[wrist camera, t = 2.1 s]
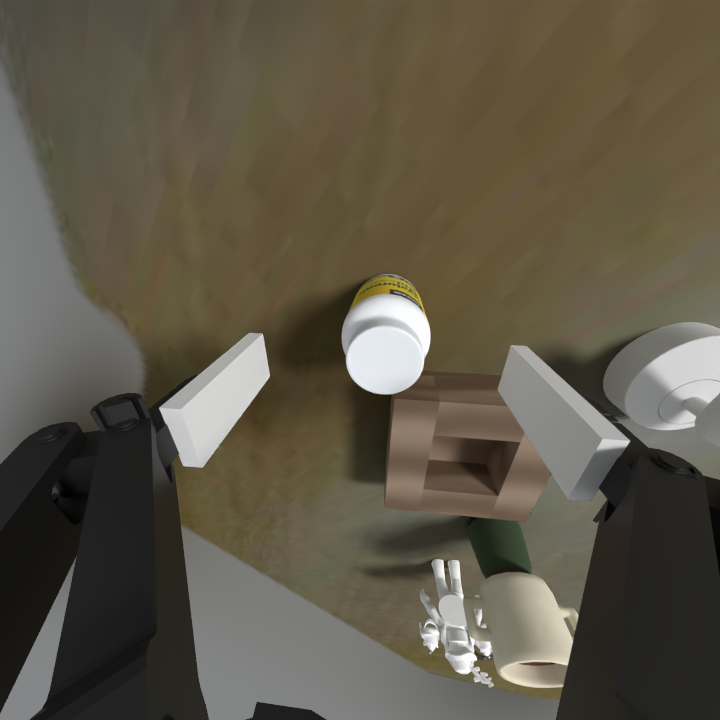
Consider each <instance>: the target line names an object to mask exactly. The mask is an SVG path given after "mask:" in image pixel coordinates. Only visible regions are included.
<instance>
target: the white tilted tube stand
mask: <svg viewBox="0 0 720 720" xmlns="http://www.w3.org/2000/svg"><path fill="white" fill-rule="evenodd" d="M603 389H604V393H605V395H606V397H607V398H608V399H609V400H610V401H611V402H612V403H613V404H614V405H615V406H616V407H618V408H619V409H620V410H621V411H622V412H623V413H625V414H626V415H627V416H628V417H629V418H631V419H632V420H633V421H634V422H636V423H637V424H639V425H641V426H644V427H647V428H651V429H657V430H676V429H683V428H689V427H693V426H695V429H696V431H697V433H698V434H699V435H700V436H701V437H702V438H703V439H704V440H706V441H707V442H709V443H710V444H713V445H715V446H718V447H720V329H719V328H716V327H713V326H710V325H707V324H703V323H696V322H685V323H677V324H671V325H667V326H664V327H661V328H658V329H655V330H653V331H650V332H648V333H646V334H644V335H642V336H640V337H639V338H637V339H635V340H634V341H632V342H631V343H630V344H628V345H627V346H626V347H624V348H623V349H622V350H621V351H620V352H619V353H618V354H617V355H616V356H615V357H614V359H613V360H612V361H611V363H610V364H609V366H608V368H607V370H606V372H605V375H604V379H603Z"/></svg>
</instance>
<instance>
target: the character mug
mask: <svg viewBox="0 0 720 720" xmlns="http://www.w3.org/2000/svg"><path fill="white" fill-rule="evenodd" d="M467 532H468V535H469V538H470V542H471V545H472V548H473V550H474V553H475V556H476V558H477V561H478V563H479V566H480V569H481V571H482V574H483V575H484V576H485V578H486V579H485V580H484V581H483V582H482V584H481V585H480V592H479V595H480V598H479V597H468V596H467V597H464V598H463V607H464V612H465V617H466V623H467V628H468V632H469V634H470V637H471V638H472V639H474V640H476V641H484V642H490V644H491V648H492V653H493V657H494V662H495V666H496V669H497V672H498V675H499V676H501V677H502V678H503V679H504V680H507V681H509V682H512V683H514V684H518V685H523V686H528V687H540V688H552V687H563V685H564V680H565V676H566V671H567V666H568V662H569V657H570V653H571V648H572V644H573V639H574V637H571V635H570V633H569V630H568V628H567V626H566V624H565V621H564V619H563V618H568V619H569V620H570V622H571V625H572V627H573V629H574V632H575V630H576V625H577V621H578V614H577V612H576V611H575V610H574V608H571V607H569V606H562V605H557V603H556V600H555V598H554V596H553V593H552V592H551V591H550V589H549V588H548V586H547V585H546V583H545V582H544V580H543V579H541V578H539V577H537V576H535V575H532V574H531V563H530V559H529V556H528V552H527V548H526V544H525V541H524V537H523V534H522V531H521V528H520V525H519V524H518V523H517V522H516V521H510V520H500V519H490V518H480V517H478V518H477V519H475V520H474V521H472V522H471V523H470V525H469V526H468V528H467ZM474 609H482V611H483V615H484V620H485V624H486V628H481V627H478V626H477V622H476V618H475V613H474Z"/></svg>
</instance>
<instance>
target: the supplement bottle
mask: <svg viewBox="0 0 720 720" xmlns="http://www.w3.org/2000/svg"><path fill="white" fill-rule="evenodd" d="M342 346H343V350H344V353H345V355H346V365H347V369H348V372H349V374H350V376H351V377H352V379H353V380H354V381H355V382H356V383H357V384H358V385H359V386H360V387H362V388H363V389H365V390H367V391H370V392H372V393H376V394H394V393H398V392H401V391H403V390H405V389H407V388H409V387H410V386H411V385H413V384H414V383H415V382H416V381H417V379H418V378H419V376H420V375H421V372H422V370H423V365H424V358H425V357H426V355H427V352H428V350H429V346H430V327H429V323H428V320H427V317H426V314H425V311H424V308H423V305H422V302H421V299H420V296H419V294H418V292H417V290H416V289H415V287H414V286H413V285H412V284H411V283H410V282H409V281H408V280H406V279H404V278H402V277H400V276H397V275H393V274H383V275H378V276H375V277H373V278H371V279H370V280H368V281H367V282H365V283H364V284H363V285H362V287H361V288H360V289H359V291H358V293H357V294H356V297H355V299H354V301H353V303H352V305H351V308H350V310H349V312H348V314H347V316H346V319H345V321H344V324H343V328H342Z"/></svg>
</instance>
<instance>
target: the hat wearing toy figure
mask: <svg viewBox="0 0 720 720" xmlns="http://www.w3.org/2000/svg"><path fill="white" fill-rule="evenodd" d="M431 565H432V568H433V570H434V575H435V579H436V585H437V590H438V595H439V598H440V602H439V612H440V615H439V614H438V612H437V610H436V608H435V606H434V605H433V604H432V603H431V602H430V597H429V596H427V595H426V594H425V593H424V589H423V590H422V591H421V593H420V598H421V601H422V603H423V604H424V606H425V607H426V609H427V611H428V613H429V614H430V615H431V618H432V619H430V618H429V619H427V620H426V622H425V625H424V628H423V627H422V626H421V623H420V622H419V627H420V626H421V628H422V629H423V630H421V628H420V635H421V637H422V638H423V639H424V640H425V641H424V642H423V645H428V648H429V649H430V650H432V652H433V650H434V649H435V646H436V647H437V648H438V641H439V640H440V639H441V642H442V643H443V644H444V645H445V651H446V654H445V656H446V658H447V659H448V660H449V662H450V661H451V662H452V664H453V666H452V667H453V668H454V669H455V671H457V672H459V673H461V674H462V673H466V674H468V673H470V672H471V670H472V672H473V673H474V675H475V676H477V677H476V678H474V681H475V682H479V681H481V683H485V684H489V683H490V685H488V686H489V687H492V686H494V685H493V683H492V682H490V681H489V680H491V677H490V678H488V679H486V677H485V676H488V675H487V673H484V672H480V674H481V675H479V674H478V673H477V671H480V669H479V667H475V668H473V666H474V662H473V661H476V660H477V657H476V656H475V654H473V653H474V647H473V646H474V639H472V638H471V637H470V634H469V632H468V628H467V623H466V617H465V612H464V607H463V594H462V586H461V579H460V565H459V561H457V560H449V561H448V567H449V572H450V578H451V592H449V591H448V587H447V585H446V582H445V575H444V562H443V560H441V559H434V560H433V561H432V563H431ZM475 597H479V596H478V595H475ZM479 598H480V597H479ZM481 610H482V609H474V613H475V618H476V622H477V626H478V627H481V628H486V624H483V623H482V624H481V625H480V621H481V619H482V611H481ZM428 623H432V624H433V625H435V626H436V628H435V627H432V626H427V627H425V626H426V624H428ZM437 628H439V629H440V630H438V629H437ZM439 635H440V638H439ZM475 645H476V646H478V648H479V649H480V650H481V651H480V652H483V654H484V655H485V656H489V655H490V652H492V648H491V644H490V642H484V641H476V640H475ZM429 653H430V654H431V652H429ZM488 658H490V657H488ZM451 662H450V664H451ZM452 664H451V665H452ZM471 664H473V666H472V665H471ZM471 667H472V668H471ZM482 677H483V678H482ZM483 679H484V680H483Z"/></svg>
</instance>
